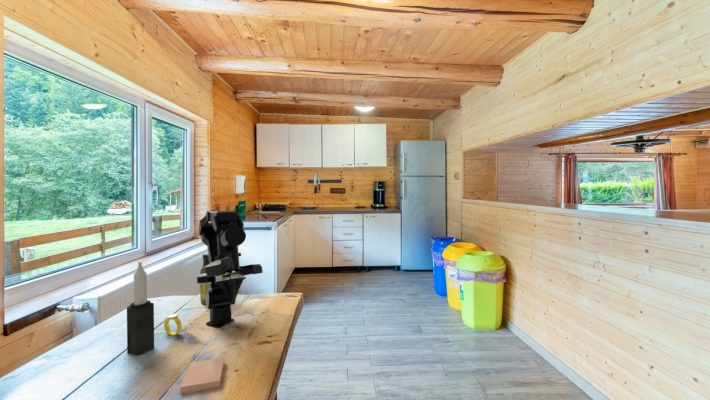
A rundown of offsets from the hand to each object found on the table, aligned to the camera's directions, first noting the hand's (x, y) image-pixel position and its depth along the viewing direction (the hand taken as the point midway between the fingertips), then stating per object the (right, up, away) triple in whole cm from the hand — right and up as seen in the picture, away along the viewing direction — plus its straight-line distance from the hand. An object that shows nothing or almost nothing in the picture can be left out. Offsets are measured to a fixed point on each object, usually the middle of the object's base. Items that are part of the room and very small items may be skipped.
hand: (232, 303), depth 88 cm
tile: (0, -12, -16) cm, 20 cm away
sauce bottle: (-23, -11, +33) cm, 41 cm away
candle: (-24, -12, -4) cm, 27 cm away
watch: (-21, -12, +5) cm, 25 cm away
